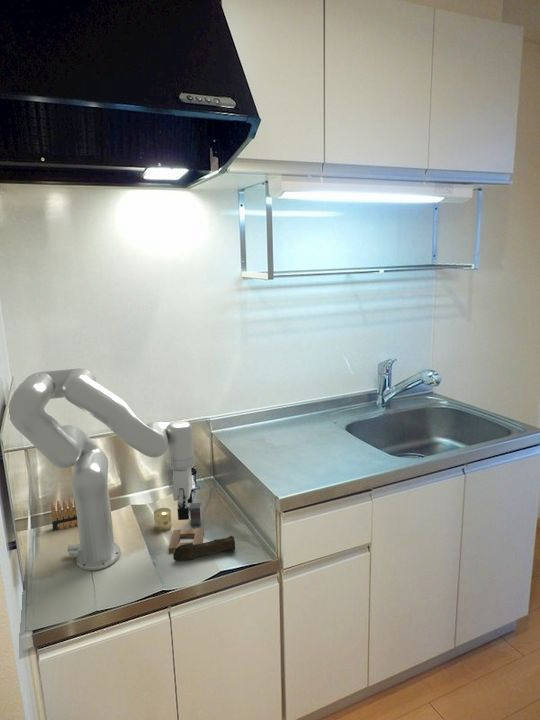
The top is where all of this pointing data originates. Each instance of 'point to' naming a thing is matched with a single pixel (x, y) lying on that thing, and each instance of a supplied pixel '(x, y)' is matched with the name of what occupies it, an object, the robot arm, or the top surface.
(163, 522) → the olive gold rounded cube
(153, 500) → the top surface
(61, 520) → the ammunition clip
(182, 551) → the dark brown log
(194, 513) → the square bit
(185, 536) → the bore block
